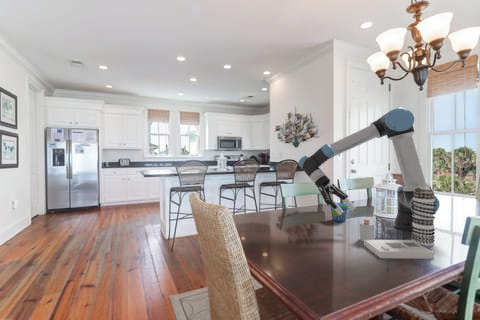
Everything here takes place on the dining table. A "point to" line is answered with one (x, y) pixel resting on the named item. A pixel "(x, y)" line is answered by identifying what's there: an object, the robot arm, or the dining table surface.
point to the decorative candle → (423, 216)
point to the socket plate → (398, 249)
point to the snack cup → (343, 216)
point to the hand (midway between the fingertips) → (347, 211)
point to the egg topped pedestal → (366, 230)
